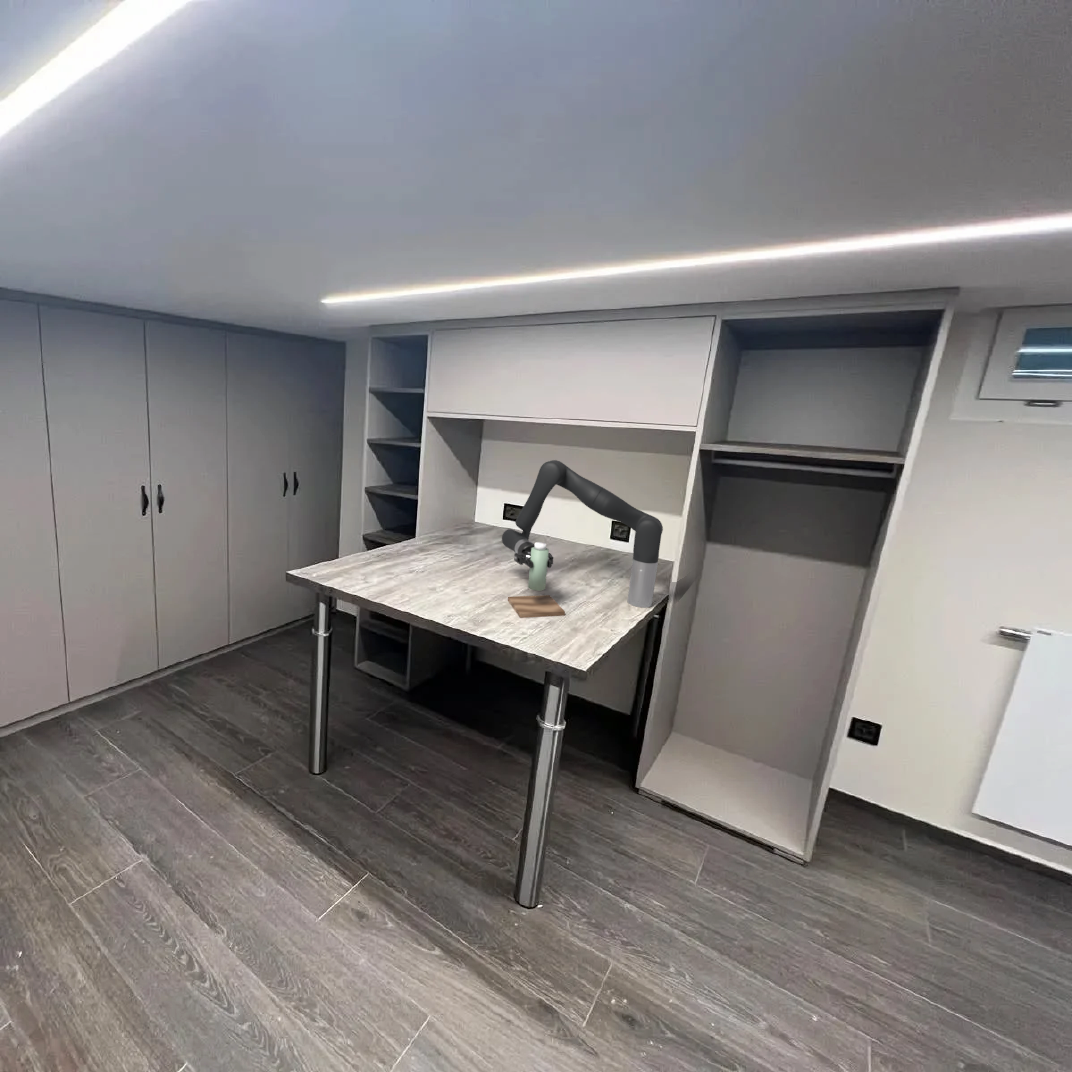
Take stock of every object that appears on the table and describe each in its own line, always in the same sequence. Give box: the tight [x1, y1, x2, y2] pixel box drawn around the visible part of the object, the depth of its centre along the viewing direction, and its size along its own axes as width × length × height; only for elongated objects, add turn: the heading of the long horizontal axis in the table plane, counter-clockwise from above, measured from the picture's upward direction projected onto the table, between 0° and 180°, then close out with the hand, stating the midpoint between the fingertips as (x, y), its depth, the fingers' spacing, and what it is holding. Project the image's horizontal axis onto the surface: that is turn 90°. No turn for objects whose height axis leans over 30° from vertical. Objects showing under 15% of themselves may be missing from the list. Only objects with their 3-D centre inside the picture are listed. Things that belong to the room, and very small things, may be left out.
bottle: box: [527, 541, 550, 592], centre depth 173 cm, size 6×6×16 cm
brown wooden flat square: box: [507, 594, 566, 619], centre depth 177 cm, size 16×16×2 cm
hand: (541, 565), depth 171 cm, fingers closed on bottle, 6 cm apart
